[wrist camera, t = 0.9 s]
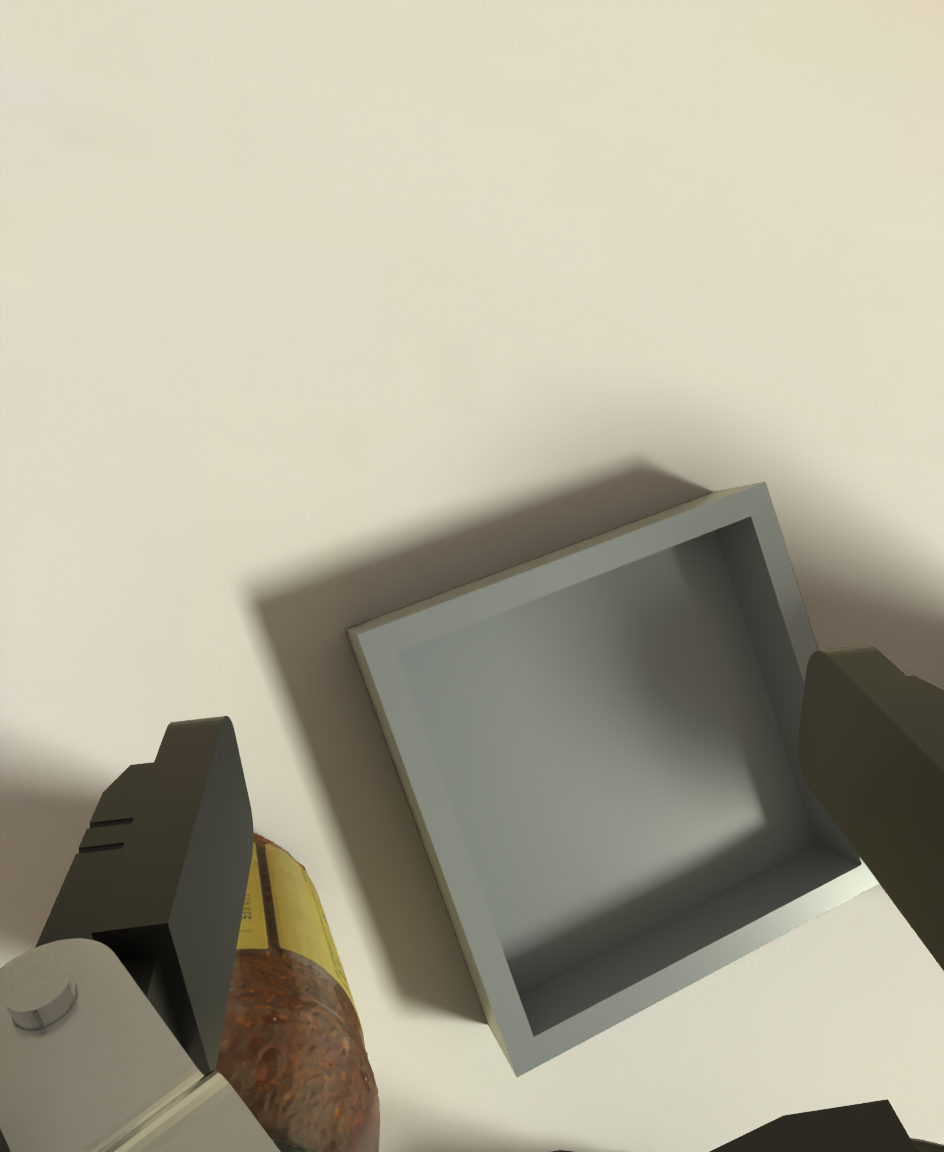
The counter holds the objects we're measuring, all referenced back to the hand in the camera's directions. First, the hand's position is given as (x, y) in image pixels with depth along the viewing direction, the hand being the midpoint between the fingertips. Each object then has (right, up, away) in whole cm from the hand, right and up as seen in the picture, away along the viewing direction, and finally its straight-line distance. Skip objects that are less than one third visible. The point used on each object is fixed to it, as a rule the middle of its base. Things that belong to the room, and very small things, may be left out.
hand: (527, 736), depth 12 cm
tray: (+5, -5, +22) cm, 23 cm away
